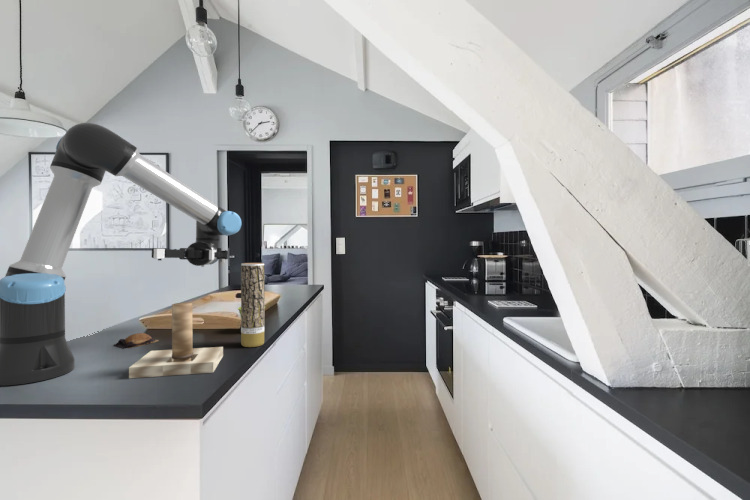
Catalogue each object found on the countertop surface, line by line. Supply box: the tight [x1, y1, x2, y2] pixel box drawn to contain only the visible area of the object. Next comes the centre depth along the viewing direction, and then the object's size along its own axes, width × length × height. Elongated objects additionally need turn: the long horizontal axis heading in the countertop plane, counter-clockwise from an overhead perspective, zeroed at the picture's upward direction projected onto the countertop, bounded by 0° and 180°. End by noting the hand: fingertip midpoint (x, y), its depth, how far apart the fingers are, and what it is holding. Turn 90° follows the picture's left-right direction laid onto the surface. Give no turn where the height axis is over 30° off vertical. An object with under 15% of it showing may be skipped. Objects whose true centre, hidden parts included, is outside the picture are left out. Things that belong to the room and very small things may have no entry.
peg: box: [171, 302, 194, 362], centre depth 93 cm, size 5×5×16 cm
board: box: [128, 346, 224, 379], centre depth 95 cm, size 18×14×2 cm
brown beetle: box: [112, 332, 160, 349], centre depth 117 cm, size 11×8×4 cm
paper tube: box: [240, 262, 265, 348], centre depth 115 cm, size 7×7×25 cm
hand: (183, 254), depth 100 cm, fingers open, 13 cm apart
